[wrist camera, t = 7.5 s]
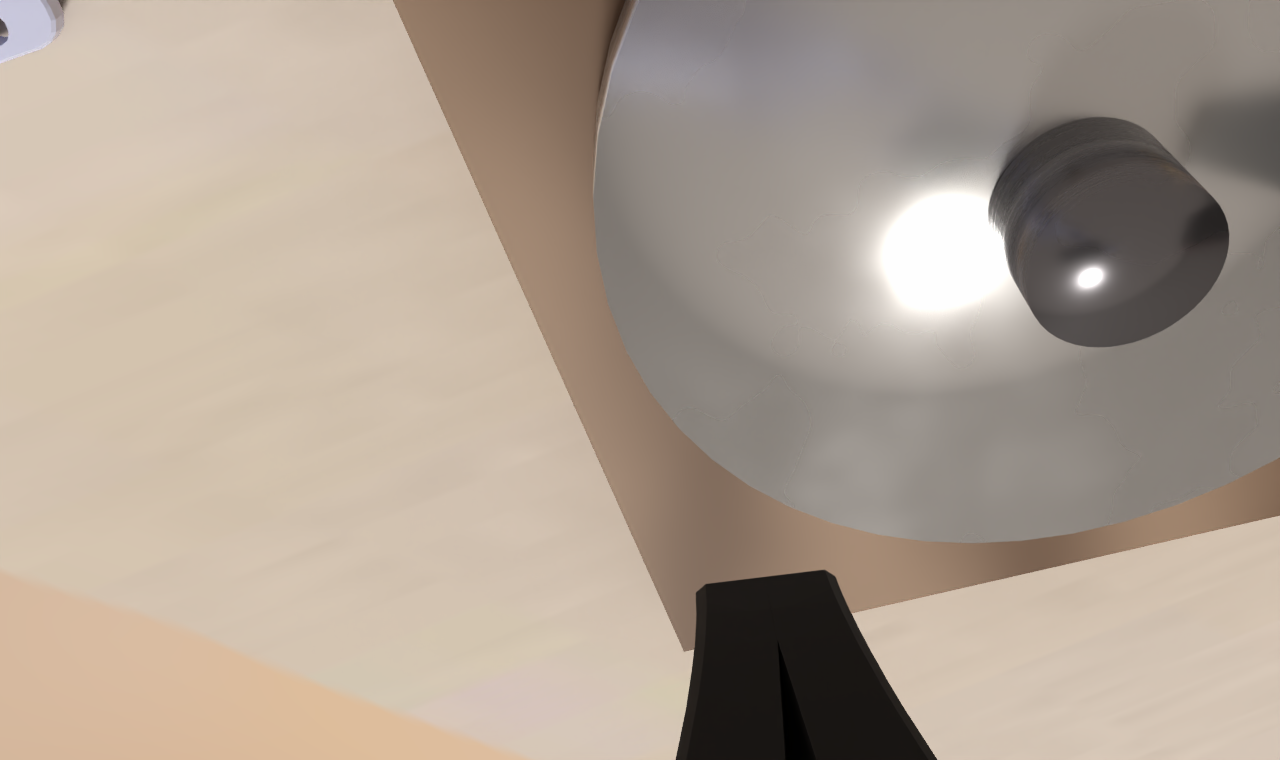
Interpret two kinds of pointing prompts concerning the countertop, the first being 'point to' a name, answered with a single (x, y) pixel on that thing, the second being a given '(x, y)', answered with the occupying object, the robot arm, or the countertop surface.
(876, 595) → the base plate
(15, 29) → the robot arm
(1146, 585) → the countertop surface
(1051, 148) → the silver round platter
